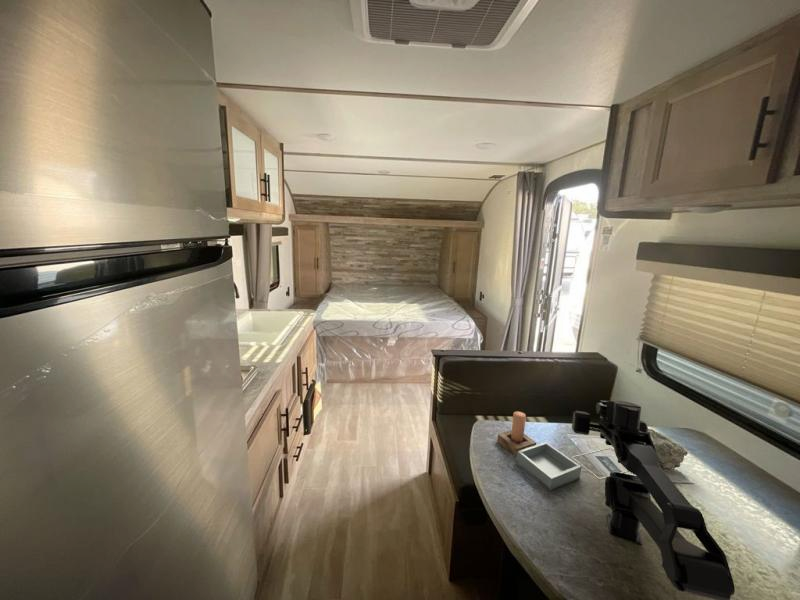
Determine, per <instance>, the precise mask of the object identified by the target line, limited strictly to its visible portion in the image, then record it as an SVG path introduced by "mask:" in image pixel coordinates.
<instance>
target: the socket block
mask: <svg viewBox="0 0 800 600" xmlns="http://www.w3.org/2000/svg"><path fill="white" fill-rule="evenodd" d="M511 432H512V429H510V430H506V431H504V432H503V431H502V432H499V433H498V434H497V443H498V444H500V445H501V446H502V447H504V448H505V449H506V450H507V451H508V452H509V453H511V455H513V456H515V458H517V451H520V450H523V449H526V448H529V447H532V446H535V445H537V442H536V441H535V440H534V439H532V437H529V436H528V435H527V434H526V433H524V436H523V442H522V443H519V444H516V443H515V442H514V441H512V440H511Z"/></svg>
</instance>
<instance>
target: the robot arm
mask: <svg viewBox="0 0 800 600" xmlns="http://www.w3.org/2000/svg"><path fill="white" fill-rule="evenodd" d="M595 410H596V413H597V414H599V421H600V422H593V421H591V415H590V413H589V412H588V411H582V410H575V411H573V414H572V423H571V429H572V431H573V432H574V434H578V435H583V436H584V435H586V436H589V434H590V431H591V432H596V433H599V438H600V439H603V440H605V444H606V446H612V447H613V448H612V447H611V448H612V449H613V450H615V451H614V455H615V456H616V458H617V463H618V464H620V465H622V467H623V468H625V469H626V471H627V470H628V473H629V472H630V473H631V474H628V473H620V472H617V471H613V472H612V471H611V472H609V475H607V477H606V476H605V477H606V478H604V480H605V481H604V497H605V502H604V504H605V505H606V507H608V508H609V509H610V511H611V514H609V513H606V520H607V525H608V530H609V533H610V535H611V536H613V537H616V538H619V539H622V540H625V541H628V542H631V543H634V544H636V545H639V546H641V545H642V546H643V541H642V538H641V534H640V531H639V529H640V525H641V526H642V527H643V528H644V529H645V531H646V533H647V534H648V535H649V536H650V538H651V539H652V540H653V543H655V544H656V546H657V548H659V550H660V555H661V560H662V562H661V567H662V568H663V570H664V572H665V575H666V577H667V578H668V580H669V581H670V582H671V584H672V586H673V587H674V588H675V589H676V590H677V591H679V592H683V593H685V594H686V593H687V594H690V595H695V596H698V597H703V598H706V599H711V600H730V599H731V597H732V596H733V595H734V594H735V590H736V589H735V588H736V587H735V583H734V579H733V576H732V574H731V570H730V566H729V563H728V558H727V556H726V553H725V552H724V551H723V549H722V548H721V546H720V545H719V544H718V542H717V541H716V540H715V539H714V537H713V535H712V534H711V533H710V532H709V531H708V528H707V525H706V522H705V518H704V515H703V513H702V512H701V510H700V509H698V508H696V507H694V506H693V505H692V504H691V503H690V501H689V500H688V499H687V497H685V495H684V494H683V493H682V492H681V491H680V490H679V488H678V487H677V485H675V484H674V482H673V481H672V480H671V478H669V476H668V475H667V474H666V472H665V471H664V470H663V469H662V467H660V466H659V460H660V458H659V456H658V455H657V453H656V450H655V447H654V445H653V442H652V440H651V437H650V434H649V433H647V431H648V429H649V427H648V424H647V423H646V422H644V421H643V420H641V413H642V406H640V405H638V404H637V403H633V402H629V401H625V400H615V401H613V400H600V401H599V402H596V404H595ZM644 443H645V444H644ZM632 474H633V475H632ZM609 476H610V477H609ZM651 497H652V498H651ZM652 499H653V500H652ZM653 501H654V502H655V503H656V504H657V505H656V504H655V503H654V502H653ZM678 528H679V529H682V530H683V529H684V530H688V531H692V533H693V534H694V535H695V536H696V538H697V539H698V541H699V542H700V543H701V545H702V546H703V547H704V548H705V549H703V548H701V547H699V546H697V545H695V544H694V543H692V542H689V540H687V539H686V538H685V537H684V536H683V534H681V532H680V531H679V530H678Z"/></svg>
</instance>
